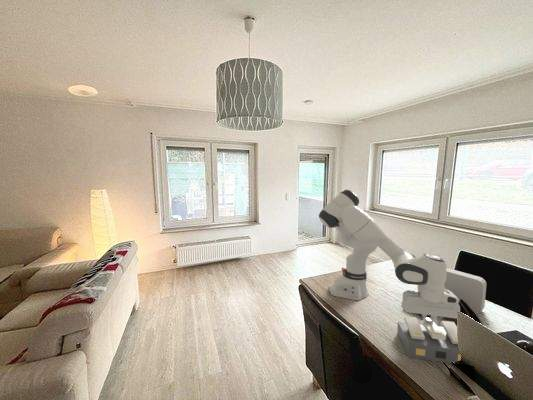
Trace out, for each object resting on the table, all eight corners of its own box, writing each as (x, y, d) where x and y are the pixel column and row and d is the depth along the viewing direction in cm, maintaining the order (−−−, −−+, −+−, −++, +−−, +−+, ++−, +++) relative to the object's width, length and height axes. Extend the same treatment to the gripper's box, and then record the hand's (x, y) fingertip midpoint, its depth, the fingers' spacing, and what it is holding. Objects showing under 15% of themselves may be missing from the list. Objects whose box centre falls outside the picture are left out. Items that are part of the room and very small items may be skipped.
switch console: (408, 357, 87) (409, 340, 86) (397, 333, 100) (397, 319, 99) (474, 367, 81) (476, 349, 81) (453, 341, 94) (455, 325, 93)
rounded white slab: (485, 310, 114) (488, 277, 112) (481, 315, 110) (484, 281, 108) (422, 287, 138) (424, 260, 136) (417, 291, 134) (418, 263, 132)
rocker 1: (411, 338, 88) (412, 335, 87) (404, 318, 96) (404, 316, 95) (424, 340, 87) (425, 337, 86) (415, 320, 95) (416, 317, 94)
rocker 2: (432, 338, 86) (432, 334, 86) (422, 324, 95) (422, 320, 94) (445, 340, 85) (445, 336, 85) (433, 325, 94) (433, 321, 93)
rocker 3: (452, 343, 85) (453, 340, 84) (440, 323, 93) (441, 320, 92) (466, 345, 84) (467, 342, 83) (453, 324, 92) (453, 321, 91)
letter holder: (454, 335, 98) (456, 305, 96) (437, 309, 116) (438, 284, 115) (482, 340, 94) (485, 310, 93) (460, 312, 113) (462, 287, 111)
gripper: (405, 293, 91) (403, 324, 93) (464, 300, 86) (460, 332, 88) (400, 286, 97) (398, 314, 99) (454, 291, 92) (451, 321, 94)
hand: (428, 323), depth 93 cm, fingers closed, pressing on rocker 2
